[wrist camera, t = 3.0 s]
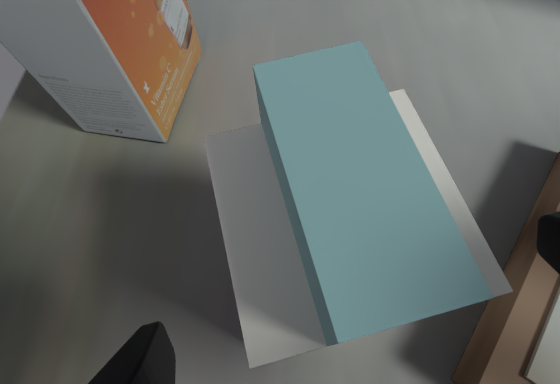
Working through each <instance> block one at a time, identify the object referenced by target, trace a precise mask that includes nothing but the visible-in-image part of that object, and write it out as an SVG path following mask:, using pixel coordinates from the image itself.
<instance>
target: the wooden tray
mask: <svg viewBox="0 0 560 384" xmlns="http://www.w3.org/2000/svg"><path fill="white" fill-rule="evenodd" d="M556 211H560V152H559V153H558V156H557V158H556V160H555V162H554V164H553V166H552V168H551V170H550V172H549V175H548V177H547V179H546V181H545V183H544V185H543V187H542V189H541V191H540V194H539V196H538V198H537V200H536V202H535V204H534V206H533V208H532V210H531V213H530V215H529V217H528V219H527V221H526V223H525V225H524V227H523V229H522V232H521V234H520V236H519V238H518V240H517V242H516V244H515V246H514V248H513V251H512V253H511V255H510V257H509V259H508V261H507V263H506V265H505V267H504V270H503V273H504V275H505V277H506V279H507V281H508V282H509V284H510V286H511V288H512V290H513V292H510V293H507V294H504V295H500V296H497V297H494V298H492V299H489V301H488V303H487V305H486V308H485V310H484V312H483V314H482V316H481V318H480V320H479V322H478V324H477V327H476V329H475V331H474V333H473V335H472V337H471V339H470V341H469V343H468V346H467V348H466V350H465V352H464V354H463V356H462V358H461V360H460V363H459V365H458V367H457V369H456V371H455V373H454V375H453V377H452V379H451V380H452V381H454V382H455V383H456V384H560V275H559V274H558V273H557V272H556V271H555V270H554V269H553V268H552V267H551V266H550V265H549V264H548V263H547V262H546V261H545V260H544V259H543V258H542V257H541V256H540V255H539V253H538V252H537V249H536V233H537V221H538V219H539V217H540V216H542V215H545V214H548V213H552V212H556Z"/></svg>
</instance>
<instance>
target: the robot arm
mask: <svg viewBox="0 0 560 384" xmlns="http://www.w3.org/2000/svg"><path fill="white" fill-rule="evenodd" d="M536 249H537V252H538V253H539V255H540V256H541V257H542V258H543V259H544V260H545V261H546V262H547V263H548V264H549V265H550V266H551V267H552V268H553V269H554V270H555V271H556V272H557V273H558V274H559V275H560V211H556V212H552V213H548V214H545V215H542V216H540V217H539V219H538V221H537V233H536ZM175 363H176V360H175V352H174V348H173V346H172V344H171V341H170V339H169V337H168V334H167V332H166V330H165V327H164V325H163V324H162V323H161V322H159V321H157V322H154V323H150V324H146V325H143V326H141V327H140V328H139V329H138V330H137V331H136V332H135V333H134V334H133V335H132V337H131V338H130V339H129V340H128V341H127V342H126V343H125V344H124V345H123V346H122V347H121V348H120V350H119V351H118V352H117V353H116V354H115V355H114V356H113V357H112V358H111V359H110V360H109V361H108V363H107V364H106V365H105V366H104V367H103V368H102V369H101V370H100V371H99V372H98V373H97V374H96V376H95V377H94V378H93V379H92V380H91V381H90V382H89V383H88V384H175Z"/></svg>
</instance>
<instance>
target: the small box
mask: <svg viewBox="0 0 560 384" xmlns="http://www.w3.org/2000/svg"><path fill="white" fill-rule="evenodd" d="M0 42H1V43H2V44H3V45H4V46H5V48H6V49H7V50H9V52H10V53H11V54H12V55H13V56H14V57H15V58H16V59H17V60H18V61H19V62H20V63H21V64H22V65H23V66H24V68H25V69H26V70H27V71H28V72H29V73H30V74H31V75H32V76H33V77H34V78H35V79H36V80H37V81H38V82H39V83H40V85H41V86H42V87H43V88H44V89H45V90H46V91H47V92H48V93H49V94H50V95H51V96H52V97H53V98H54V100H55V101H56V102H57V103H58V104H59V105H60V106H61V107H62V108H63V109H64V110H65V111H66V112H67V113H68V114H69V115H70V117H71V118H72V119H73V120H74V121H75V122H76V123H77V124H78V125H79V126H80V127H81V128H82V129H83V130H84V131H87V132H94V133H101V134H108V135H114V136H122V137H129V138H137V139H144V140H150V141H157V142H164V143H165V142H167V140H168V137H169V134H170V132H171V129H172V126H173V123H174V120H175V117H176V115H177V112H178V110H179V107H180V104H181V102H182V99H183V97H184V95H185V92H186V90H187V87H188V85H189V82H190V80H191V78H192V75H193V73H194V70H195V68H196V65H197V63H198V61H199V59H200V56H201V53H202V49H201V45H200V42H199V39H198V36H197V33H196V30H195V26H194V23H193V20H192V17H191V13H190V10H189V7H188V3H187V0H0Z"/></svg>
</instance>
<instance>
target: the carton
mask: <svg viewBox="0 0 560 384" xmlns="http://www.w3.org/2000/svg"><path fill="white" fill-rule="evenodd" d="M253 71H254V77H255V84H256V91H257V97H258V104H259V110H260V117H261V123H260V124H256V125H252V126H248V127H244V128H240V129H235V130H231V131H227V132H223V133H219V134H215V135H211V136H206V137H203V139H204V144H205V149H206V154H207V159H208V164H209V169H210V174H211V179H212V184H213V189H214V194H215V199H216V204H217V209H218V214H219V219H220V224H221V229H222V234H223V239H224V244H225V249H226V254H227V259H228V264H229V269H230V274H231V279H232V284H233V289H234V294H235V299H236V304H237V309H238V314H239V319H240V324H241V329H242V334H243V339H244V344H245V349H246V354H247V359H248V364H249V369H250V368H254V367H257V366H261V365H264V364H268V363H271V362H274V361H278V360H281V359H285V358H288V357H292V356H295V355H298V354H302V353H305V352H309V351H312V350H315V349H319V348H322V347H326V346H330V345H334V344H338V343H342V342H345V341H349V340H352V339H356V338H359V337H362V336H366V335H369V334H373V333H376V332H379V331H383V330H386V329H390V328H393V327H397V326H400V325H403V324H407V323H410V322H414V321H417V320H421V319H424V318H427V317H431V316H434V315H438V314H441V313H444V312H448V311H451V310H455V309H458V308H462V307H465V306H468V305H472V304H475V303H479V302H482V301H485V300H489V299H492V298H494V297H497V296H500V295H504V294H507V293H510V292H513V290H512V288H511V286H510V284H509V282H508V281H507V279H506V277H505V275H504V273H503V271H502V269H501V268H500V266H499V264H498V262H497V260H496V258H495V257H494V255H493V253H492V251H491V249H490V247H489V245H488V244H487V242H486V240H485V238H484V236H483V234H482V233H481V231H480V229H479V227H478V225H477V223H476V221H475V220H474V218H473V216H472V214H471V212H470V210H469V209H468V207H467V205H466V203H465V201H464V199H463V197H462V196H461V194H460V192H459V190H458V188H457V186H456V185H455V183H454V181H453V179H452V177H451V175H450V173H449V172H448V170H447V168H446V166H445V164H444V162H443V161H442V159H441V157H440V155H439V153H438V151H437V149H436V148H435V146H434V144H433V142H432V140H431V138H430V137H429V135H428V133H427V131H426V129H425V127H424V125H423V124H422V122H421V120H420V118H419V116H418V114H417V113H416V111H415V109H414V107H413V105H412V103H411V101H410V100H409V98H408V96H407V94H406V92H405V90H404V89H401V90H397V91H393V92H388V90H387V88H386V87H385V85H384V83H383V81H382V79H381V77H380V75H379V73H378V71H377V69H376V67H375V65H374V63H373V61H372V59H371V57H370V55H369V53H368V52H367V50H366V48H365V46H364V44H363V42H362V41H358V42H353V43H349V44H344V45H340V46H336V47H331V48H327V49H323V50H318V51H314V52H309V53H305V54H301V55H296V56H292V57H288V58H283V59H279V60H275V61H270V62H266V63H261V64H257V65H253Z"/></svg>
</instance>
